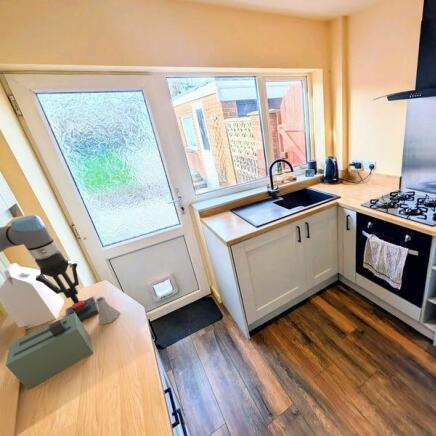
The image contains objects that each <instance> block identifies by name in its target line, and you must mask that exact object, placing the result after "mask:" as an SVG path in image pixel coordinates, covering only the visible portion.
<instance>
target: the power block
mask: <svg viewBox="0 0 436 436" xmlns="http://www.w3.org/2000/svg"><path fill="white" fill-rule="evenodd" d="M95 300H96V299H95V297H94V296H91V297H89V298H87V299H84V300H83V301H84V303H85V306H83V307H82V308H80V309H78V310H74V309H73V308H72V306H70V307H67V308H66V309H65V314H66V316H68V315H71V314H73V313H76V315H77V317H78V318H79V320H80V321H81V323H82V322H84V321H86V320H88V319H90V318H92V317H95V316H96V315H99V308H98V304H97V303H96V302H95ZM66 316H65V317H66Z"/></svg>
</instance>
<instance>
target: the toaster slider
mask: <svg viewBox="0 0 436 436" xmlns="http://www.w3.org/2000/svg"><path fill="white" fill-rule="evenodd" d="M58 320H59V321H58ZM58 320H56V321H57V322H56V321H54V322H55V323H54V322H52V323H53V324H51V323H49V324H50V325H49V324H48V325H49V330H50V331H51V333H52V334H53V335H54V337H55V336H57V335H59V334H61V333H63V332H65V331H66V327H65V325H64V324H63V322H62V321H61V320H60V319H58Z"/></svg>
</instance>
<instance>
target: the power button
mask: <svg viewBox="0 0 436 436" xmlns="http://www.w3.org/2000/svg"><path fill="white" fill-rule="evenodd" d="M83 306H85V303H84V300H81V299H80V300H79V302H78V303H76V304H74V303H73V304H72V305H71V307H72V308H73V309H74V310H78V309H80V308H82V307H83Z"/></svg>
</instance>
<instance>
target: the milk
mask: <svg viewBox="0 0 436 436" xmlns="http://www.w3.org/2000/svg"><path fill="white" fill-rule="evenodd" d="M3 273H4V276H5V278H6V279H5V280H4V282H3V283H2V285H1V287H0V301H1V303H2V305H4V307H5V309H6V311H7V312H8V313H9V316H10V317H11V318H12V320H13V321H14V322H15V324H16V326H17V327H18V328H19V329H20V328H23V327H25V330H28V329H31V328H34V327H37V326H39V325H42V324H46V323H49V322H51V321H54V320H57V318H58V316H59V314H60V312H61V310H62V308H63V305H64V304H65V300H64V299H63V298H62V296H61V295H60V293H59V294H56V293H55V292H54V291H52V290H51V289H50V288H49V287H47V286H46V285H45V284H43V283H42V282H39V281H36V276H37V275H39V274H40V269H36V268H32V267H25V266H20V265H19V264H18V263H16V262H13V263H10V264H9V265H8V266H7V267H6V268H5V269H4V270H3ZM44 276H45V278H47V279H48V276H47V275H44Z"/></svg>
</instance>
